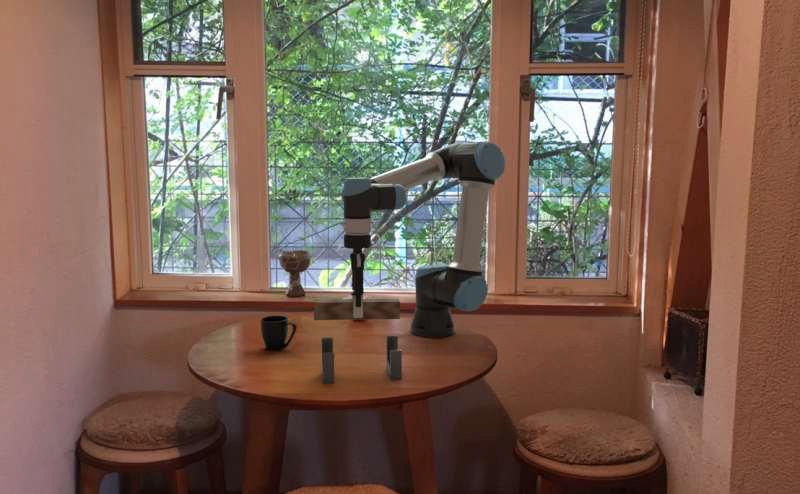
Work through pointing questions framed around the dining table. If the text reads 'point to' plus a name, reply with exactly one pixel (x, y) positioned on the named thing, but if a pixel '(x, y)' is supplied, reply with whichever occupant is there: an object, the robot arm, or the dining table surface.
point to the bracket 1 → (327, 360)
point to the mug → (276, 332)
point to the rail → (344, 309)
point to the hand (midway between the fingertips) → (357, 315)
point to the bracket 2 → (394, 358)
